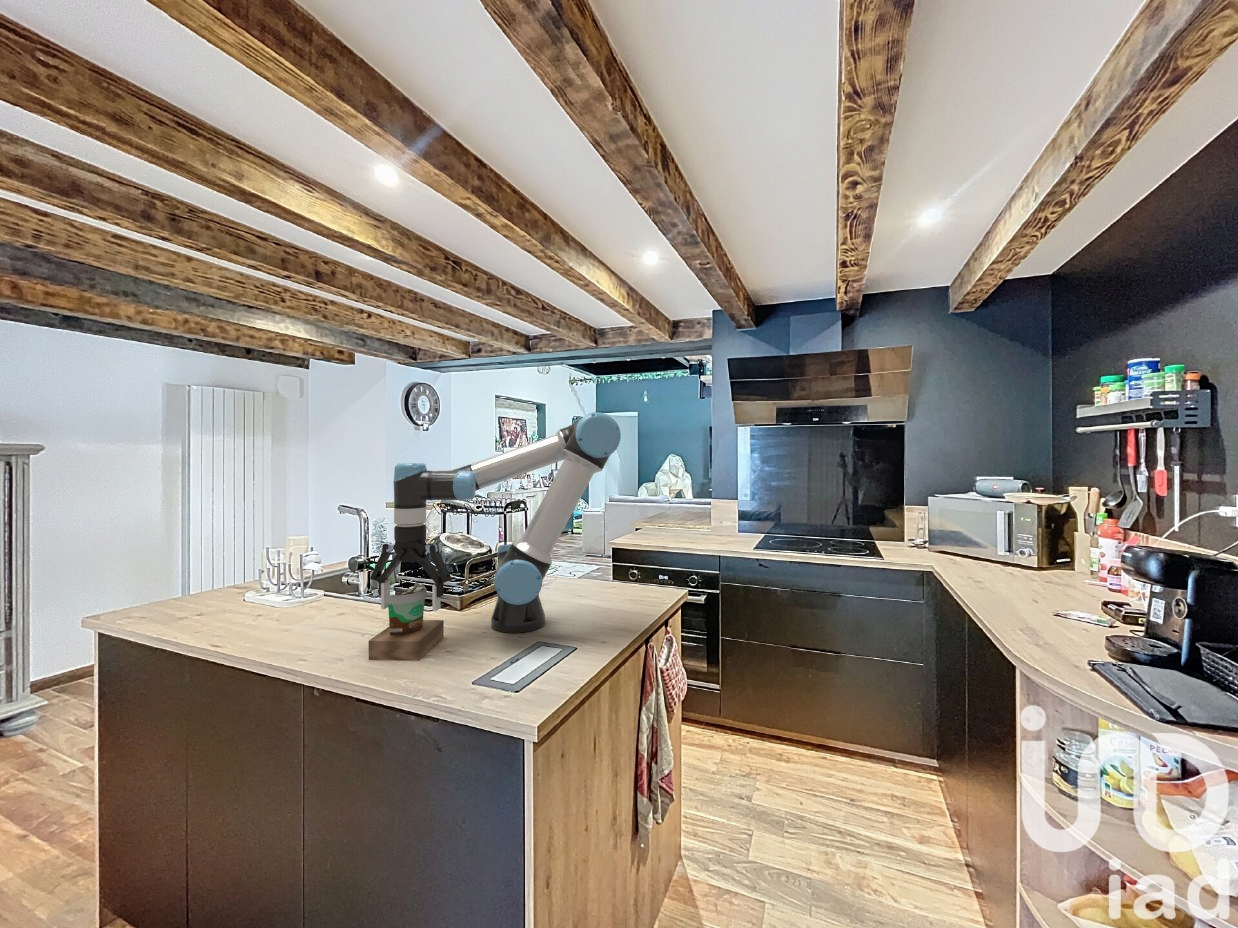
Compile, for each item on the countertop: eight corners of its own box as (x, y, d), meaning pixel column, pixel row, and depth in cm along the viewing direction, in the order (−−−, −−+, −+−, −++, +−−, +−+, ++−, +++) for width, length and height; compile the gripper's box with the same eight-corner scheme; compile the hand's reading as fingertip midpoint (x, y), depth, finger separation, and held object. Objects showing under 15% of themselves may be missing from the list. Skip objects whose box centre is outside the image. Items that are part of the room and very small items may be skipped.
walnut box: (443, 638, 140) (443, 620, 140) (418, 662, 124) (418, 641, 124) (399, 638, 140) (399, 619, 140) (368, 661, 124) (368, 640, 124)
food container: (409, 639, 126) (409, 597, 125) (386, 636, 127) (386, 595, 126) (436, 622, 138) (437, 584, 137) (415, 620, 139) (415, 583, 139)
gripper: (464, 523, 134) (464, 606, 134) (373, 521, 137) (373, 602, 137) (451, 527, 126) (451, 615, 127) (354, 525, 130) (355, 611, 130)
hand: (410, 609), depth 132 cm, fingers open, 13 cm apart
